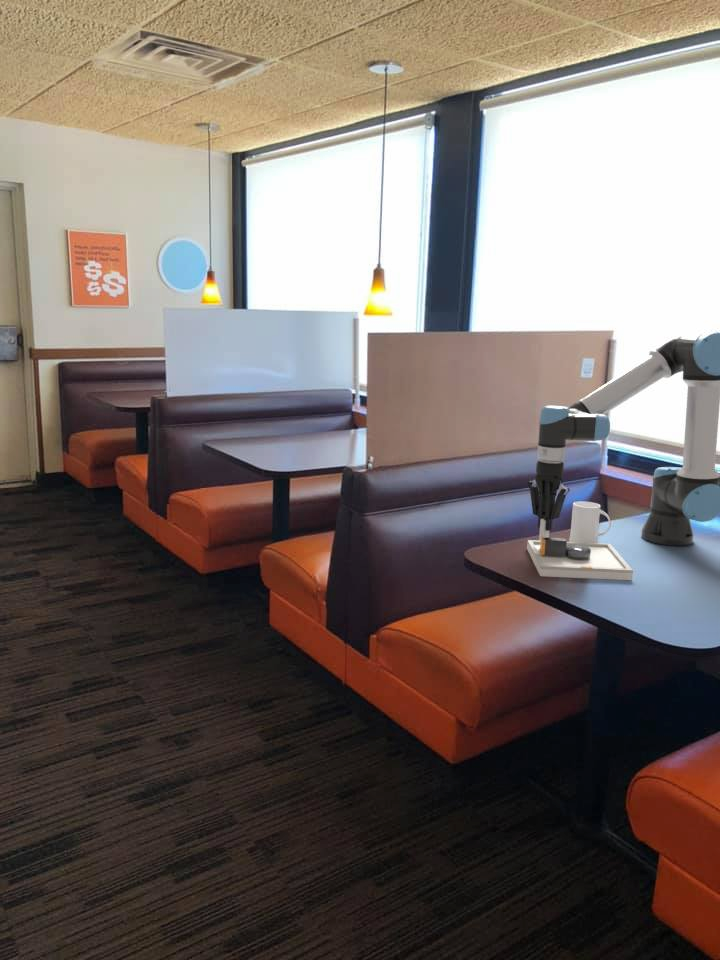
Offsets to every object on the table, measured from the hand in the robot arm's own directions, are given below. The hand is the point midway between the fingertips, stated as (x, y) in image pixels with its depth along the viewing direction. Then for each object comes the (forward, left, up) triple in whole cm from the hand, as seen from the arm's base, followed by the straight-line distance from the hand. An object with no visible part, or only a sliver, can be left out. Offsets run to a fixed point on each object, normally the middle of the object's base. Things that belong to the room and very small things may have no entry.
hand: (543, 540), depth 221 cm
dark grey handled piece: (-5, +8, -2) cm, 9 cm away
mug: (-16, -13, -4) cm, 21 cm away
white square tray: (-8, +8, -4) cm, 12 cm away
